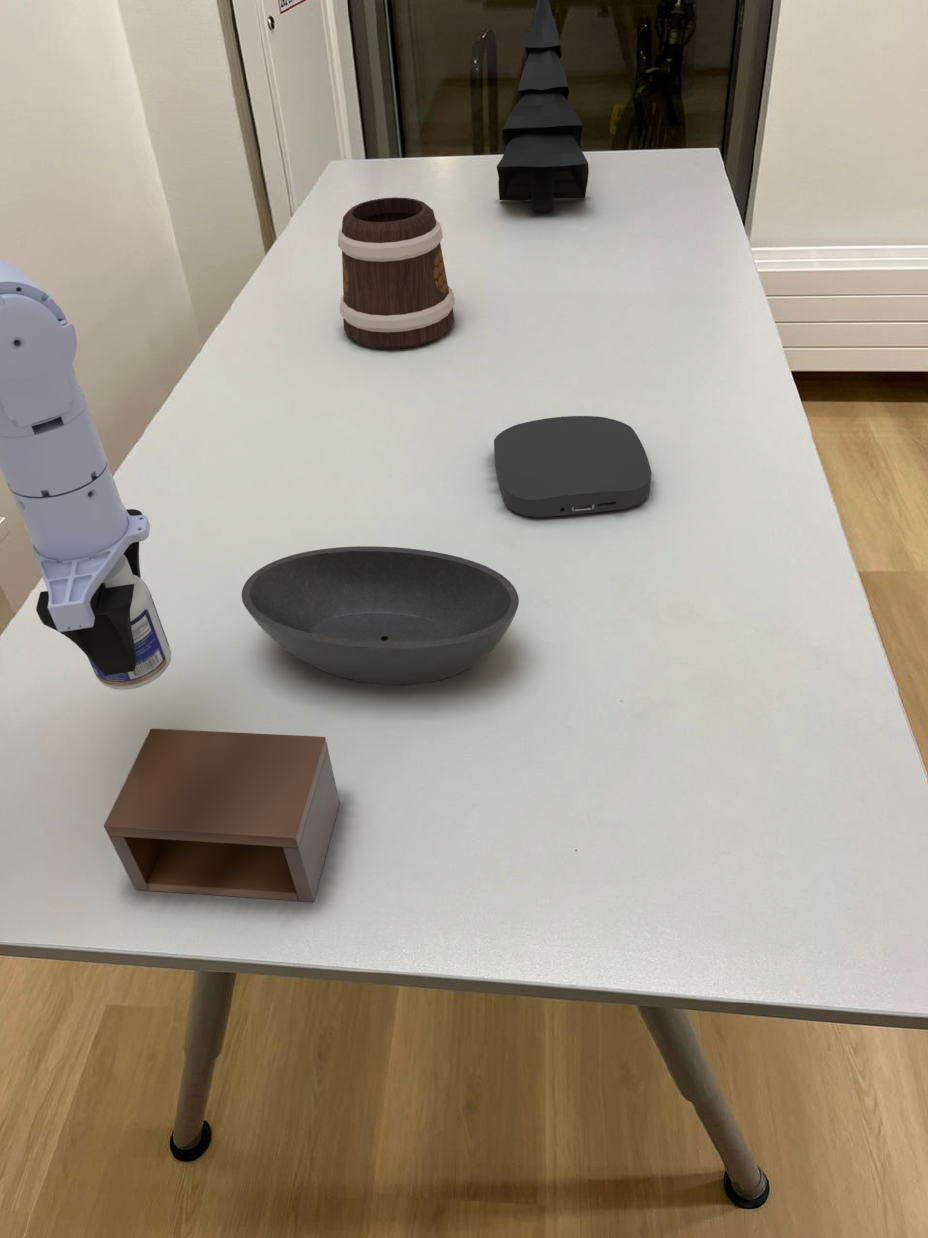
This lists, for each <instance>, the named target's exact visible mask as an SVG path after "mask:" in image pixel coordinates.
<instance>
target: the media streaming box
mask: <svg viewBox="0 0 928 1238" xmlns="http://www.w3.org/2000/svg"><path fill="white" fill-rule="evenodd" d="M493 450H494V453H493V454H494V466H495V471H496V477H497V483H498V486H499V489H500V493H501V496H502V500H503V502H504V505H505V506H506V507H507V508H508V509H510V510H511V511H513V512H514V513H517V514H519V515H522V516H527V517H533V518H544V517H558V516H559V517H560V516H572V515H583V514H592V513H593V514H594V513H600V512H608V511H616V510H624V509H629V508H632V507H636V506H638V505H639V504H641V503H643V502H644V501H645V500H646V499H647V498H648V497H649V495H650V491H651V482H652V468H651V466H650V461H649V458H648V456H647V452H646V449H645V447H644V446H643V443H642V441H641V439H640V438H639V436H638V434H637V433H636V431H635V430H634V428H633V427H632V426H630V425H629V424H627V423H624V422H622V421H620V420H617V419H613V418H609V417H603V416H593V415H569V416H556V417H555V416H554V417H548V418H542V419H536V420H530V421H526V422H522V423H518V424H515V425H512V426H510V427H508V428H506V429H504V430H502V431H501V432H500V433H498V434H497V435H496V436H495V438H494V439H493Z"/></svg>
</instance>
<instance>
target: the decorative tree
mask: <svg viewBox="0 0 928 1238" xmlns="http://www.w3.org/2000/svg"><path fill="white" fill-rule="evenodd" d="M561 45H562V44H561V40H560V37H559V32H558V27H557V25H556V22H555V18H554V15H553V11H552V6H551V3H550V0H537V1H536V7H535V11H534V15H533V20H532V23H531V24H530V27H529V29H528V32H527V36H526V40H525V45H524V49H525V57H524V58H525V59H524V68H523V71H522V74H521V78H520V81H519V83H518V84H519V85H518V88H517V92H516V100H515V101H516V104H515V105H514V108H513V109H512V111H511V112H510V113H509V115H508V117H507V119H506V122H505V123H504V126H503V128H502V134H501V139H502V142H503V143H504V145H505V146H504V150H503V155H502V157H501V159H500V161H499V162H498V164H496V171H497V176H498V181H497V182H498V184H497V185H498V186H497V187H498V200H499V201H514V202H525V201H531V203H530V211H531V212H532V213H535V214H548V213H551V212H553V211H554V208H555V206H554V205H555V203H554V201H555V199H557V200H558V199H586V194H587V187H588V184H589V183H588V181H589V175H590V174H589V173H590V172H589V161H588V160H587V158H586V156H585V154H584V153H583V150H582V143H581V142H582V141H581V140H582V132H583V129H584V124H583V122H582V120H581V118H580V117H579V116H578V114H577V113H576V112H575V110H574V109H573V107H572V106H571V104H570V102H569V101H568V98H569V94H570V89H569V84H568V83H569V82H568V78H567V73H566V72H565V68H564V67H563V64H562V62H561V58H562V56H563V53H562V49H561Z"/></svg>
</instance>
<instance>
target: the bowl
mask: <svg viewBox="0 0 928 1238" xmlns="http://www.w3.org/2000/svg"><path fill="white" fill-rule="evenodd" d="M519 599H520V597H519V594H518V591H517V589H516V588H515V585H513V584H512V582H511V581H510V580H509V579H508V578H507V577H506V576H504V575H503V574H501V573H499V572H498V571H497V570H494V569H492V568H491V567H488V566H487V565H484V564H482V563H479V562H476V561H475V560H474V561H473V560H471V559H467V558H463V557H460V556H456V555H452V554H448V553H442V552H437V551H432V550H425V549H417V548H409V547H395V546H378V545H377V546H374V545H373V546H368V545H366V546H365V545H364V546H363V545H362V546H361V545H360V546H359V545H358V546H339V547H329V548H320V549H314V550H308V551H303V552H298V553H295V554H291V555H288V556H285V557H284V556H283V557H281V558H279V559H276V560H274V561H272V562H269V563H267V564H266V565H264V566H262V567H261V568H259V569H258V570H256V571H255V572H254V573H252V574H251V575H250V576H249V577H248V579H246V581H245V583H244V584H243V586H242V589H241V601H242V603H243V606H244V607H245V609H246V610H247V612H248V614H249V615H250V616H251V617H252V618H253V620H254V621H255V622H256V623H257V625H258V626H259V627H260V628H261V629H262V630H263V631H264V632H265V633H266V634H267V635H268V636H269V637H270V638H271V639H272V640H273V641H274V642H276V643H277V644H278V645H279V646H280V647H282V648H283V649H284V650H286V651H287V652H289V653H290V654H291V655H293V656H294V657H296V658H298V659H299V660H301V661H303V662H305V663H306V664H308V665H311V666H312V667H315V668H316V669H319V670H321V671H322V672H325V673H328V674H330V675H332V676H336V677H339V678H343V679H347V680H351V681H356V682H362V683H370V684H378V685H379V684H380V685H418V684H426V683H433V682H438V681H441V680H442V681H443V680H446V679H449V678H452V677H454V676H457V675H458V674H461V673H462V672H464V671H466V670H467V669H468V670H469V669H470V668H471V667H473V666H474V665H476V664H477V663H479V662H480V661H481V660H482V659H484V658H486V656H487V655H488V654H489V653H490V652H491V651H492V650H494V648H495V647H497V645H498V644H499V643H500V642H501V640H502V639H503V638H504V636H505V634H507V632H508V630H509V628H510V627H511V624H512V622H513V621H514V618H515V615H516V613H517V611H518V608H519V604H520V600H519Z"/></svg>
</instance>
